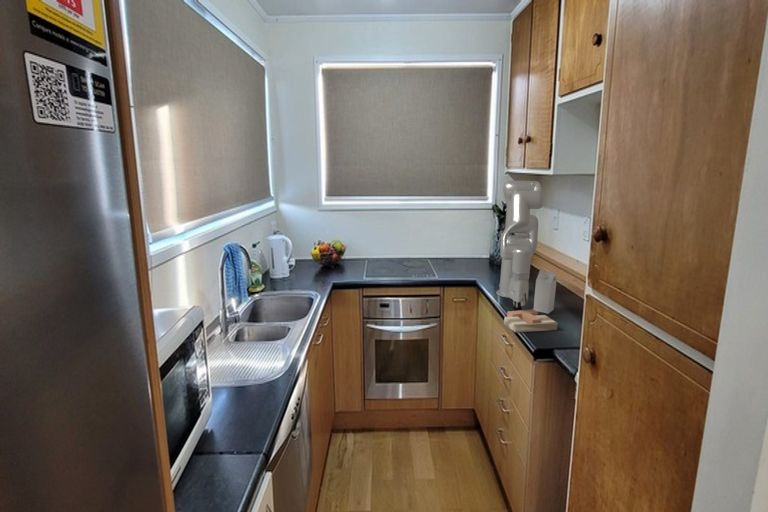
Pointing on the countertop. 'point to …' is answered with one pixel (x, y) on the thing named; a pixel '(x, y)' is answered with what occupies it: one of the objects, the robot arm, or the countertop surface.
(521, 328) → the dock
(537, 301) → the milk carton
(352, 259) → the countertop surface
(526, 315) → the t block
